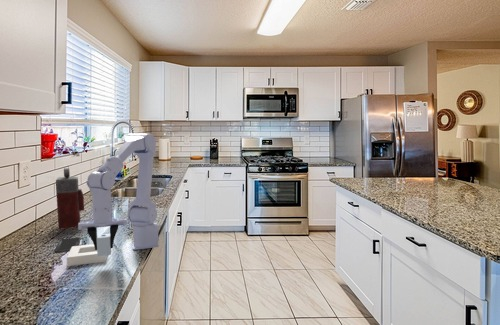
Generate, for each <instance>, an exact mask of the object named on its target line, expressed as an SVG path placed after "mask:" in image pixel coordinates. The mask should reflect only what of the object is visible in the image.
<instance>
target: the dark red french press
mask: <svg viewBox="0 0 500 325" xmlns="http://www.w3.org/2000/svg"><path fill="white" fill-rule="evenodd" d="M70 171H71V170H70V168H68V167H67V168H66V167H65V168H63V177H60V176H59V177H57V178H56V179H55V193H56V206H57V207H56V209H57V221H58V222H57V223H58V229H59V230H62V229H61V228H64V229H71V228H70V227H73V228H78V223H81V211H82V212H83V211H85V201H84V200H85V197H84V192H83V190H82V188H79V178H78V176H71V174H70V173H71V172H70Z"/></svg>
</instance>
